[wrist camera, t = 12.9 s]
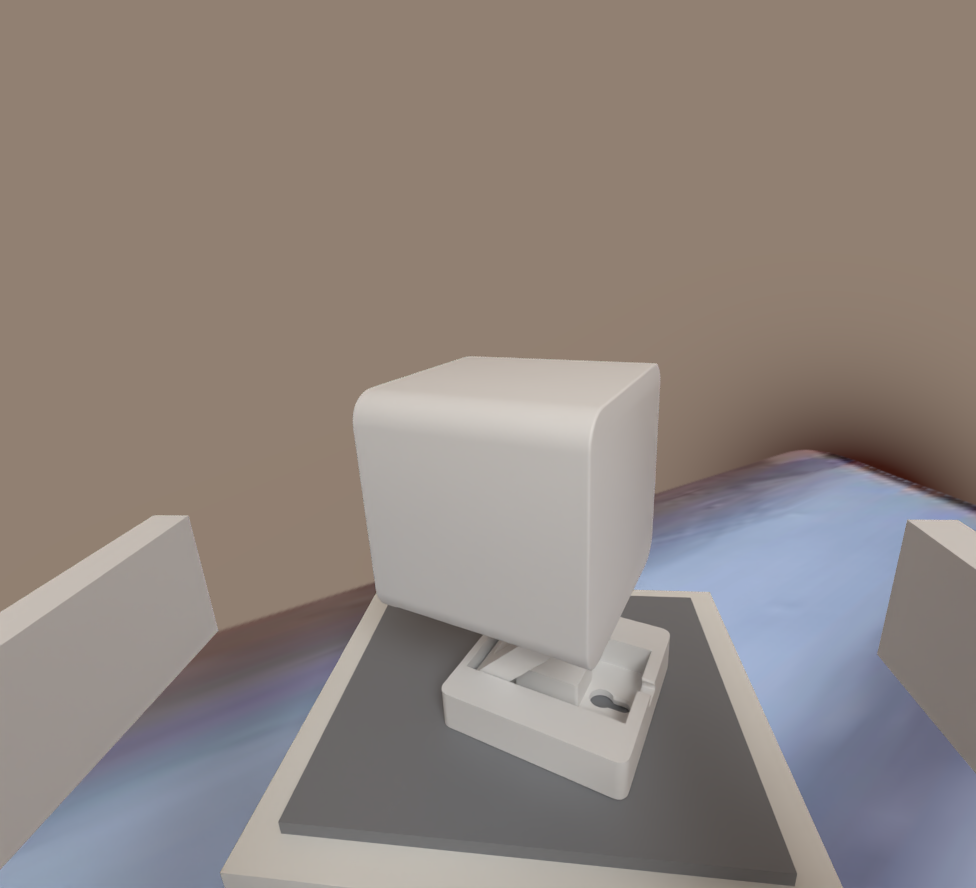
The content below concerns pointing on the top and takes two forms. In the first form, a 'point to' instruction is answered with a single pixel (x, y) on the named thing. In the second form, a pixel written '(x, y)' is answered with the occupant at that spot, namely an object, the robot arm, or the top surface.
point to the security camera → (525, 547)
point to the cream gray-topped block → (528, 780)
